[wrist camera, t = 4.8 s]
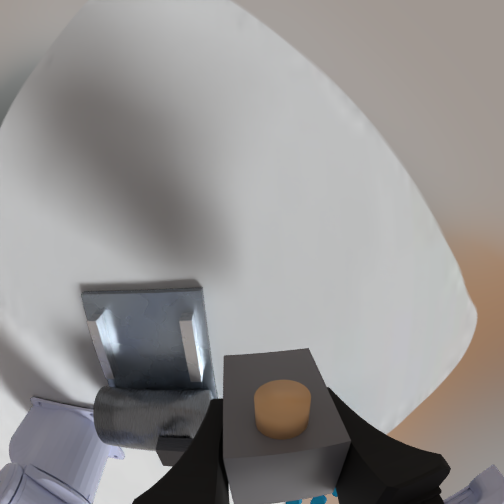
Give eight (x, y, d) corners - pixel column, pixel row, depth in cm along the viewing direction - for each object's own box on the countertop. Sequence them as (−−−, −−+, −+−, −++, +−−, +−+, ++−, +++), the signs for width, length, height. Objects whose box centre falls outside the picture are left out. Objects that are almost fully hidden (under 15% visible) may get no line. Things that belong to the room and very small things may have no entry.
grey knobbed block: (230, 413, 14) (234, 506, 8) (221, 333, 12) (218, 435, 7) (304, 406, 14) (332, 492, 8) (309, 326, 13) (358, 417, 7)
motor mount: (123, 411, 21) (103, 466, 15) (84, 291, 18) (35, 335, 12) (220, 415, 22) (220, 477, 15) (202, 287, 19) (189, 341, 12)
